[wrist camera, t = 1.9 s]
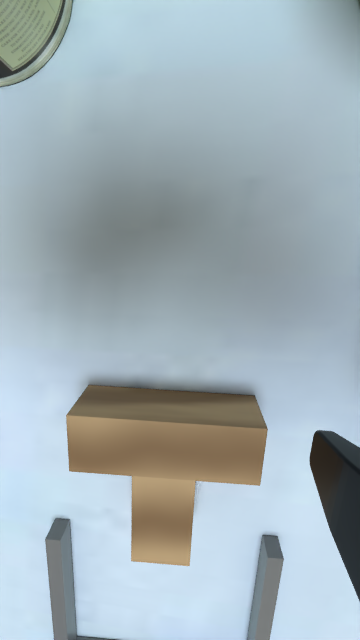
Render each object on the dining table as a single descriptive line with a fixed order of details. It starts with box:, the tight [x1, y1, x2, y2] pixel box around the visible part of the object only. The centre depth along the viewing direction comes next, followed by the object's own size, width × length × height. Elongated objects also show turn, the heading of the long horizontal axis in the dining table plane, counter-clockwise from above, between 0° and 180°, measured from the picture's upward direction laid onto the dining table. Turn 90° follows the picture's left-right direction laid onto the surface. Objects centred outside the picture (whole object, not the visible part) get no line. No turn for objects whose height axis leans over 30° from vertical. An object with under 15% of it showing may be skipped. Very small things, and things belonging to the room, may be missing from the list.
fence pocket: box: [45, 519, 284, 640], centre depth 26 cm, size 15×18×2 cm
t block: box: [66, 385, 268, 566], centre depth 21 cm, size 11×12×4 cm
